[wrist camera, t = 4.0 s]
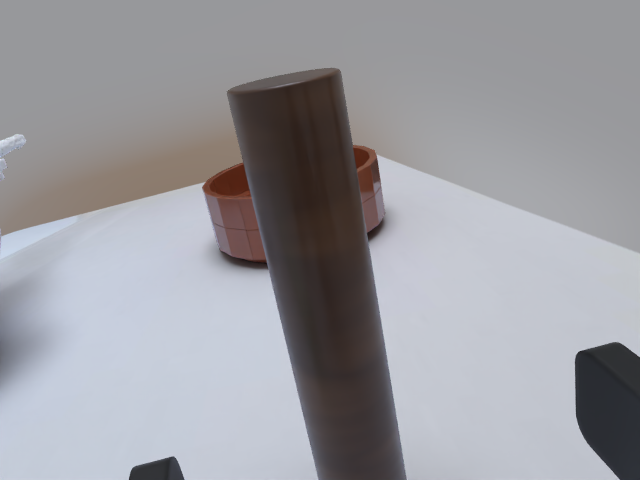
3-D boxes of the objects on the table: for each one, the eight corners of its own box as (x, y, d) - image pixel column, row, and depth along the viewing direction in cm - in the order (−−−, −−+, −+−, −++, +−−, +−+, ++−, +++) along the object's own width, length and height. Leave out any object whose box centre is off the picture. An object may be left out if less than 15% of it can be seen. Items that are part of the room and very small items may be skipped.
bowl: (378, 193, 57) (369, 135, 54) (394, 251, 42) (384, 176, 40) (234, 217, 58) (220, 162, 56) (204, 281, 44) (183, 210, 41)
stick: (408, 489, 21) (339, 63, 16) (419, 560, 19) (341, 73, 13) (331, 499, 22) (235, 83, 16) (332, 570, 19) (216, 96, 13)
